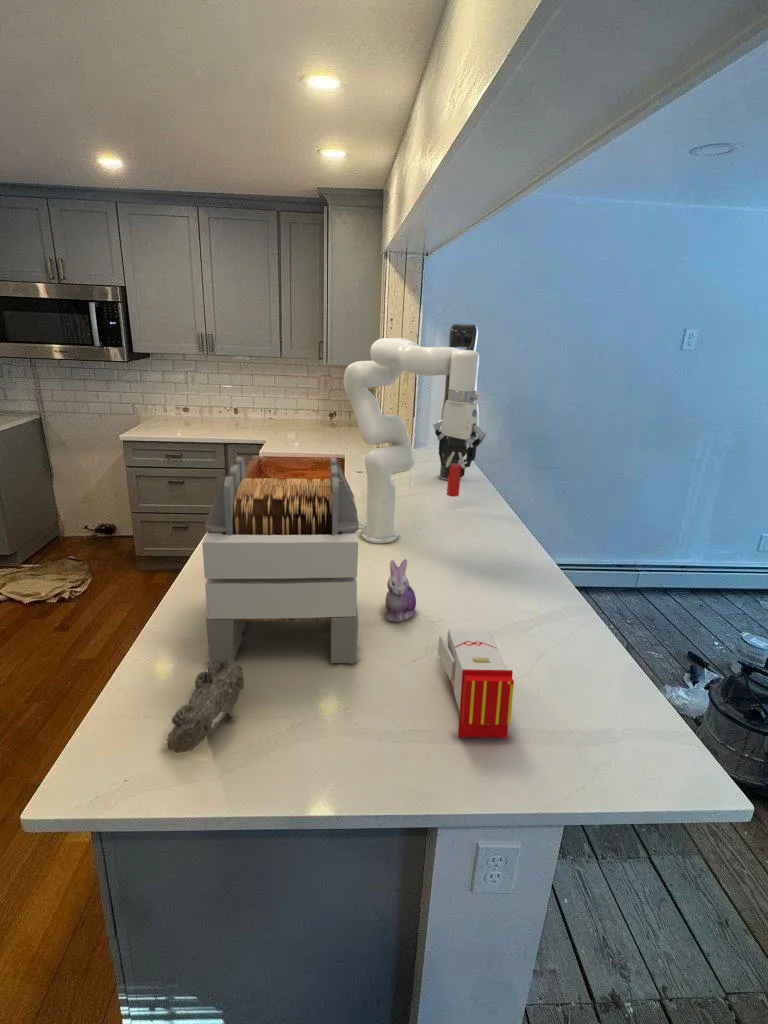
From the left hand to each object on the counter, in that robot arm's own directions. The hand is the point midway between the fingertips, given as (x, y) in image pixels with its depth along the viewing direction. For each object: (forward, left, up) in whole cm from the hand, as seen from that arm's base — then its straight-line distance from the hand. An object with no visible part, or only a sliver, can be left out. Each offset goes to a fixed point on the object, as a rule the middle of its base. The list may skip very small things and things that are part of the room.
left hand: (456, 457), depth 162 cm
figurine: (-6, -31, -36) cm, 48 cm away
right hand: (-9, +56, -22) cm, 60 cm away
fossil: (-30, -81, -36) cm, 93 cm away
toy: (+16, -56, -36) cm, 69 cm away
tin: (-9, +56, -29) cm, 63 cm away
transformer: (-31, -46, -36) cm, 66 cm away
